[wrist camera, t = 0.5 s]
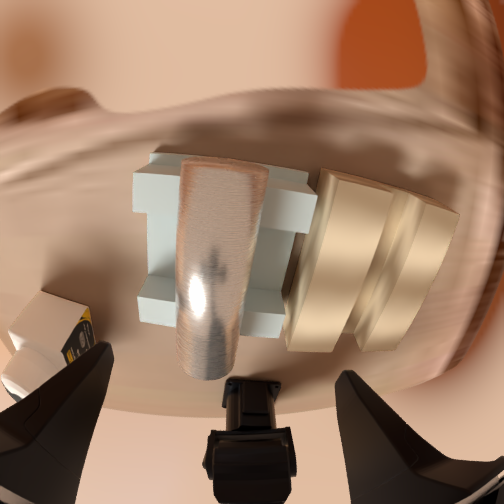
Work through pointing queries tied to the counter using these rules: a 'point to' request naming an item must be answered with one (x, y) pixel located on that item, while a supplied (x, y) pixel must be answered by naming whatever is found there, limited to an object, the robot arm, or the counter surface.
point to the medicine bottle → (45, 342)
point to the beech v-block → (364, 264)
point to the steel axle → (214, 259)
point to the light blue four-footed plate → (266, 252)
